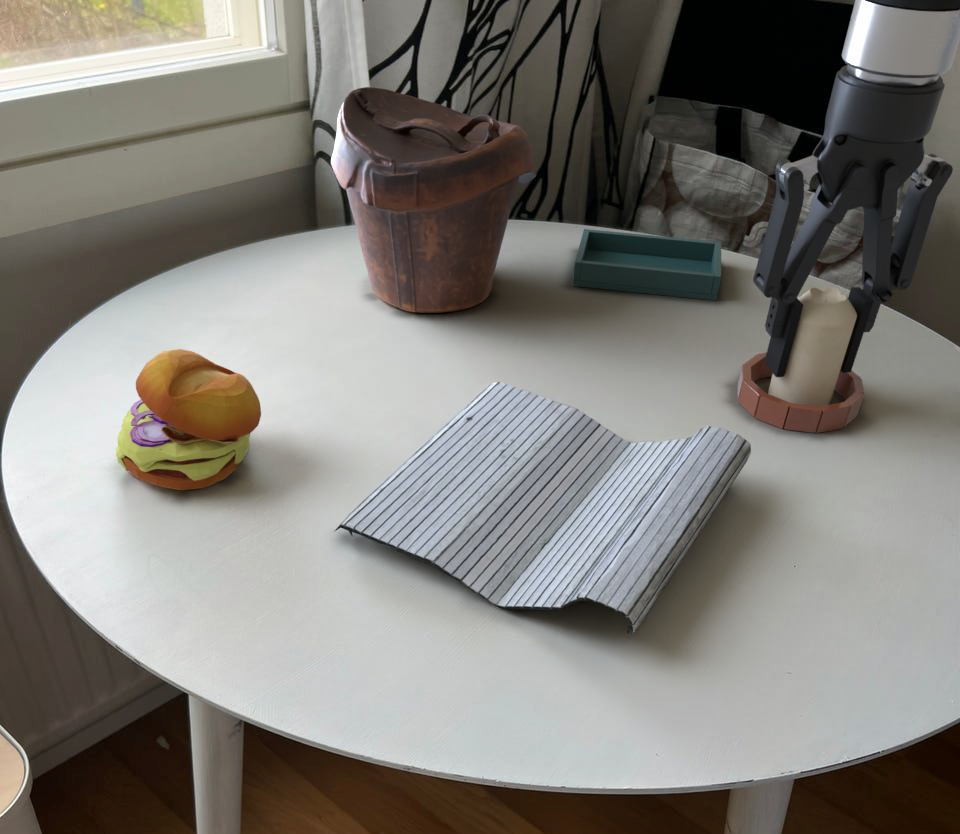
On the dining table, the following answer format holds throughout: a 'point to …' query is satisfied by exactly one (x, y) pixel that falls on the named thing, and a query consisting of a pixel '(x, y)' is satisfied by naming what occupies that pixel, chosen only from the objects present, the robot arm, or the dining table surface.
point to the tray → (648, 264)
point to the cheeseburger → (187, 422)
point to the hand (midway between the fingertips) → (807, 366)
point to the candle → (816, 349)
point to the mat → (551, 504)
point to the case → (428, 195)
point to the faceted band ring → (798, 414)
